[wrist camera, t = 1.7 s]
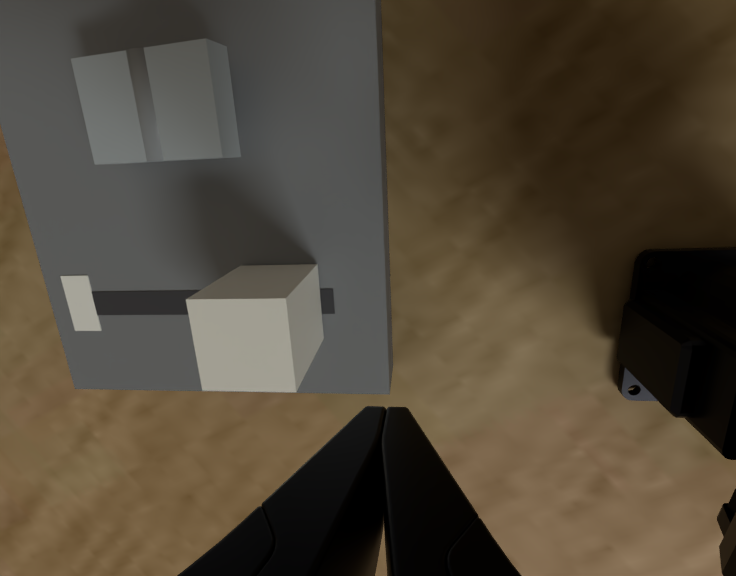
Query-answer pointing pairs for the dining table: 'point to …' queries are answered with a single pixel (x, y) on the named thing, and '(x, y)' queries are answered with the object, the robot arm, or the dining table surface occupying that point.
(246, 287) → the off-white cube
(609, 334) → the dining table surface
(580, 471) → the dining table surface
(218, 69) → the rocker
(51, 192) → the switch console
